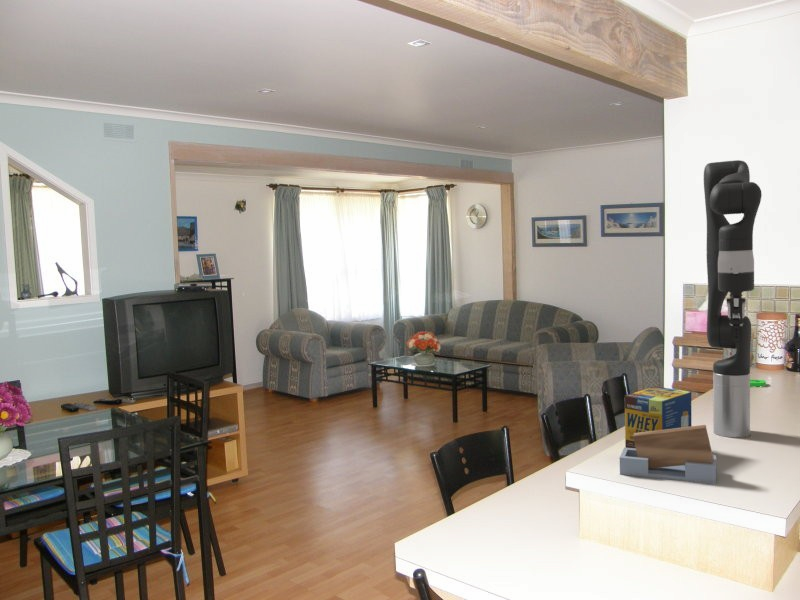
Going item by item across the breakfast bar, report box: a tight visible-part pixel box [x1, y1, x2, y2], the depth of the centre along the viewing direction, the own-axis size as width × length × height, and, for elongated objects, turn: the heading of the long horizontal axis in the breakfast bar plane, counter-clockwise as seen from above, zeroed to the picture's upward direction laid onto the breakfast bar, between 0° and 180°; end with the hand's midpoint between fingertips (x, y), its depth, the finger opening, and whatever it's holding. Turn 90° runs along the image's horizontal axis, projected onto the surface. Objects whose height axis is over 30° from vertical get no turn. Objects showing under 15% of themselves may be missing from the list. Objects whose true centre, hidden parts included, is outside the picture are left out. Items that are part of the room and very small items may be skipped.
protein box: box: [624, 385, 692, 448], centre depth 175 cm, size 10×15×16 cm
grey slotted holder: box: [619, 447, 717, 484], centre depth 159 cm, size 8×21×4 cm, turn 65°
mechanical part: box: [750, 379, 767, 387], centre depth 249 cm, size 12×6×8 cm, turn 71°
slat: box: [633, 424, 714, 468], centre depth 158 cm, size 3×16×8 cm, turn 63°
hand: (736, 339), depth 158 cm, fingers open, 8 cm apart
